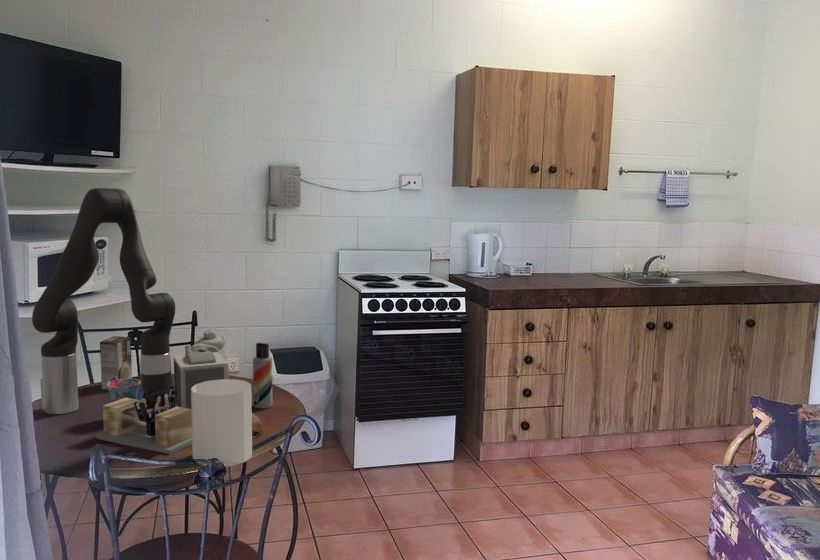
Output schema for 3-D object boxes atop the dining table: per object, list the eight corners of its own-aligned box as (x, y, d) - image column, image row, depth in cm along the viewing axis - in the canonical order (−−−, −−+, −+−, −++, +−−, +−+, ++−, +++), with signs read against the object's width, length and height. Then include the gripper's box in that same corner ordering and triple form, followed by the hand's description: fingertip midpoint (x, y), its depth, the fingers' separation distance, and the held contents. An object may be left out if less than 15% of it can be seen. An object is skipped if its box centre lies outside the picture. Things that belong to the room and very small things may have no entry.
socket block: (155, 443, 179) (154, 415, 178) (177, 434, 186) (176, 406, 185) (170, 446, 177) (170, 418, 176) (192, 437, 184) (191, 409, 183)
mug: (130, 424, 196) (128, 388, 195) (100, 422, 198) (98, 385, 196) (153, 411, 208) (152, 377, 206) (124, 409, 209) (123, 375, 208)
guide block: (103, 433, 186) (102, 405, 185) (126, 424, 193) (126, 397, 192) (117, 435, 184) (116, 408, 183) (140, 426, 191) (139, 400, 190)
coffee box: (115, 382, 238) (113, 335, 236) (133, 382, 238) (131, 336, 236) (100, 389, 229) (98, 341, 227) (119, 390, 229) (117, 342, 226)
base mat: (96, 438, 185) (96, 435, 185) (131, 425, 196) (131, 421, 195) (169, 454, 175) (169, 450, 175) (202, 439, 186) (202, 435, 186)
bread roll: (238, 455, 185) (247, 431, 182) (213, 432, 189) (221, 409, 186) (264, 444, 193) (273, 421, 190) (240, 422, 197) (248, 399, 195)
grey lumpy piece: (188, 394, 226) (187, 337, 224) (174, 383, 238) (172, 329, 236) (236, 386, 236) (236, 331, 233) (220, 376, 248) (219, 324, 245)
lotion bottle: (249, 407, 213) (249, 343, 211) (260, 402, 219) (259, 339, 216) (265, 409, 211) (265, 345, 209) (276, 404, 216) (275, 341, 214)
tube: (118, 429, 186) (118, 410, 185) (134, 423, 191) (133, 404, 190) (165, 439, 179) (164, 419, 179) (179, 432, 184) (179, 413, 184)
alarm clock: (230, 419, 202) (229, 358, 199) (183, 426, 196) (181, 362, 194) (218, 402, 218) (217, 345, 216) (174, 407, 212) (172, 348, 210)
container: (182, 465, 169) (180, 393, 166) (208, 444, 183) (207, 377, 180) (238, 470, 166) (237, 397, 164) (261, 448, 180) (260, 381, 178)
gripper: (164, 362, 189) (166, 422, 192) (124, 374, 177) (126, 439, 179) (186, 365, 186) (187, 426, 189) (146, 377, 174) (148, 443, 176)
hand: (157, 432), depth 184 cm, fingers closed on tube, 4 cm apart
